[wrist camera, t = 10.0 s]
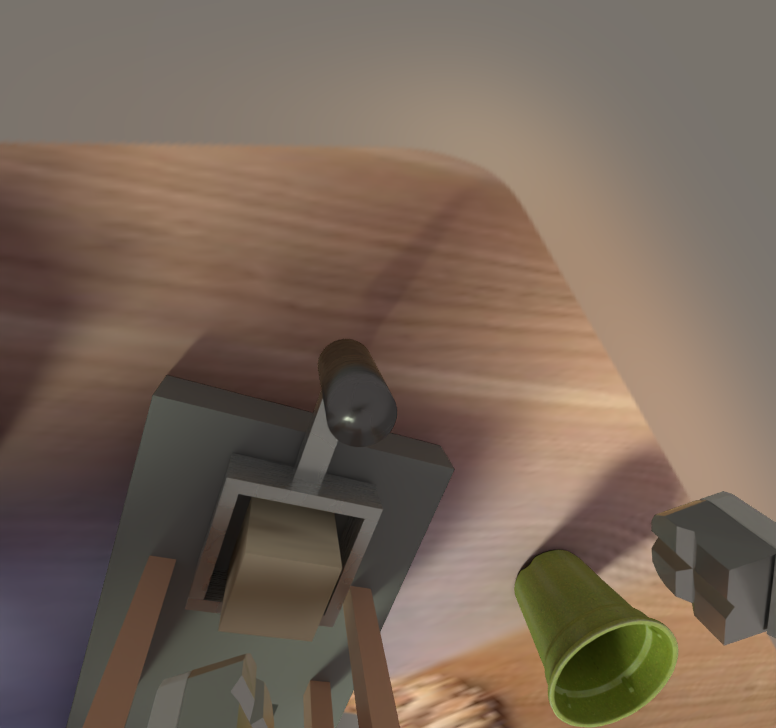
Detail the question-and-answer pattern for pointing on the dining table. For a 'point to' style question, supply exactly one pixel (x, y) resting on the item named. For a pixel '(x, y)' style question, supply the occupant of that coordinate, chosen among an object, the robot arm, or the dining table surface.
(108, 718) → the wooden stool
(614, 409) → the dining table surface
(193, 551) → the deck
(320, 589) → the beech block
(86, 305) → the dining table surface
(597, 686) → the plant pot
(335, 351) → the slider
